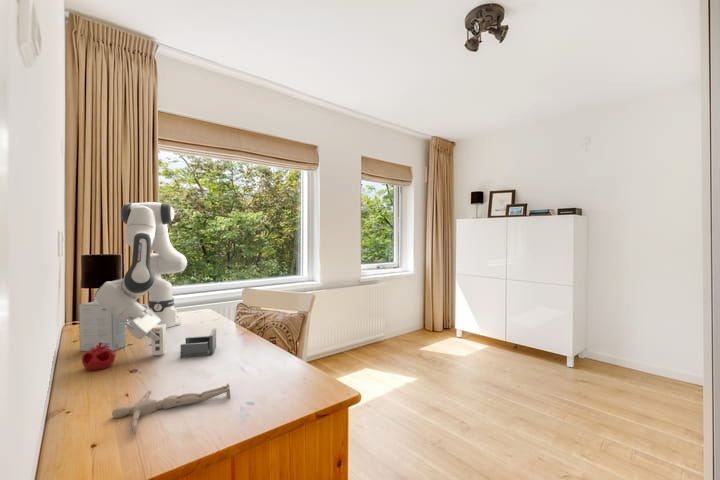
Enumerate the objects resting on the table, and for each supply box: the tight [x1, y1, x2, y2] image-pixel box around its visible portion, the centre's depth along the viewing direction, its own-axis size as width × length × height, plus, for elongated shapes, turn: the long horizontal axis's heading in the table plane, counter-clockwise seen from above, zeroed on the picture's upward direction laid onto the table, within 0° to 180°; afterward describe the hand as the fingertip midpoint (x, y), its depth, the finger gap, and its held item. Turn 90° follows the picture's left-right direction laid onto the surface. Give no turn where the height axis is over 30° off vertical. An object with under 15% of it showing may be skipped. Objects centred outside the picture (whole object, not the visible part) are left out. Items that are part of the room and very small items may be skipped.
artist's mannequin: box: [111, 383, 231, 435], centre depth 101 cm, size 28×4×30 cm
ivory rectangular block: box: [151, 324, 168, 356], centre depth 143 cm, size 5×4×11 cm
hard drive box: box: [78, 301, 127, 352], centre depth 152 cm, size 16×8×20 cm, turn 84°
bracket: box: [179, 328, 217, 358], centre depth 147 cm, size 11×12×8 cm
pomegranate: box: [81, 342, 116, 371], centre depth 131 cm, size 10×10×9 cm
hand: (160, 336), depth 143 cm, fingers closed on ivory rectangular block, 5 cm apart
